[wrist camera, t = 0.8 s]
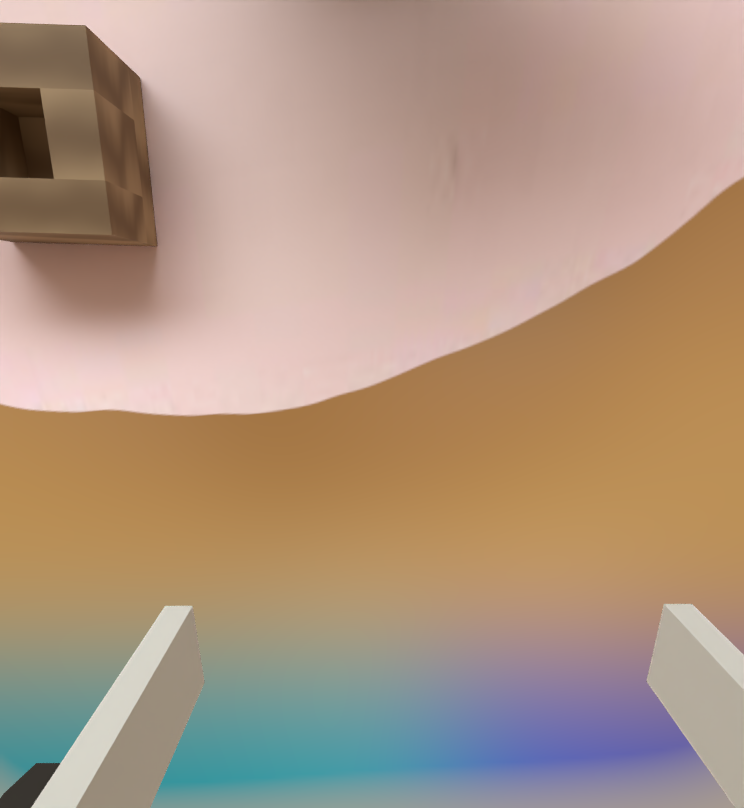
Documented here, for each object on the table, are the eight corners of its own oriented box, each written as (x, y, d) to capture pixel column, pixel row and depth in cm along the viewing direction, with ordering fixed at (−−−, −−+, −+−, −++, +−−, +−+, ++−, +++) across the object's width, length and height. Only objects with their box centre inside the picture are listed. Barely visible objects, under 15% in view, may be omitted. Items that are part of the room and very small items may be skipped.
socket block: (-19, 72, 30) (-112, 19, 25) (140, 77, 30) (85, 25, 25) (12, 241, 33) (-63, 229, 28) (157, 246, 33) (111, 234, 28)
